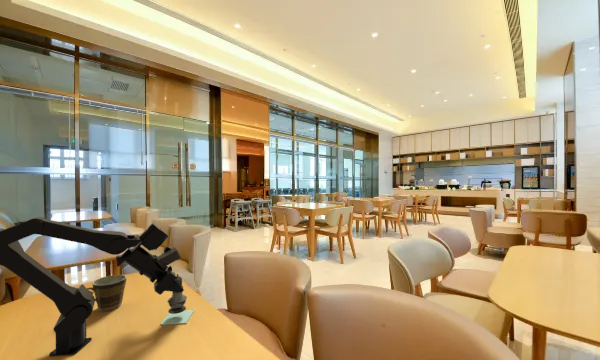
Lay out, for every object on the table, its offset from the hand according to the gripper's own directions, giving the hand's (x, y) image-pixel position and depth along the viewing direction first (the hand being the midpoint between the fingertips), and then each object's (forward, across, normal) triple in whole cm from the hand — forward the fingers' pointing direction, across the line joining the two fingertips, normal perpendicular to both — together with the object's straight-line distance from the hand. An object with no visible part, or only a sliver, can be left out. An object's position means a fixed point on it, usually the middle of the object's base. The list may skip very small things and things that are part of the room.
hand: (181, 289), depth 86 cm
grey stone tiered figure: (+4, 0, +6) cm, 7 cm away
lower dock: (+6, 0, +7) cm, 9 cm away
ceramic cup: (-8, +22, +22) cm, 32 cm away
